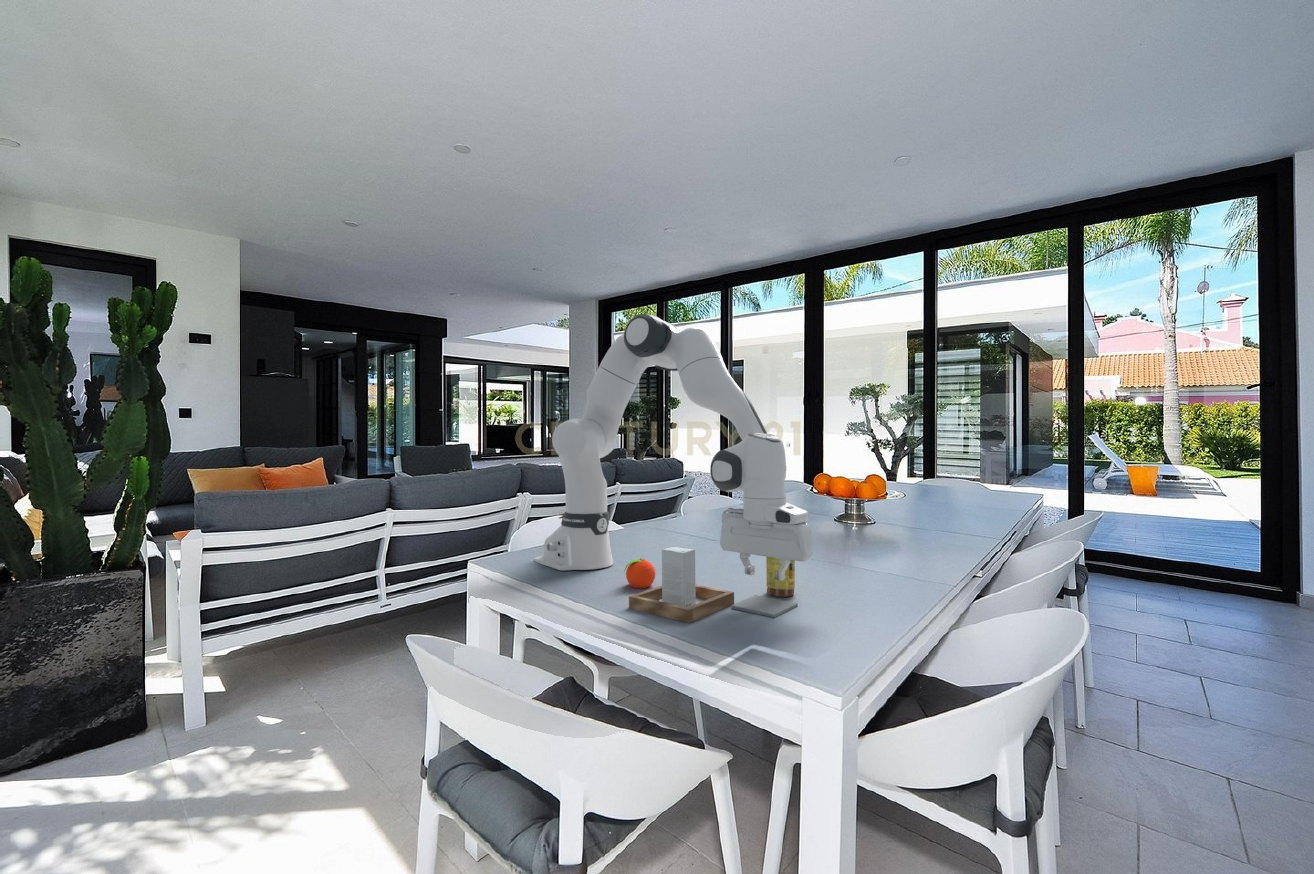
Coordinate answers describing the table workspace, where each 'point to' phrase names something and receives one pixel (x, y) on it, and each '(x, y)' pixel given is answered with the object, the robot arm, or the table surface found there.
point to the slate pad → (764, 606)
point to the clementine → (640, 573)
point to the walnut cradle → (685, 614)
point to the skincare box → (678, 576)
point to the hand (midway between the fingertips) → (764, 577)
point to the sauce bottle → (778, 586)
